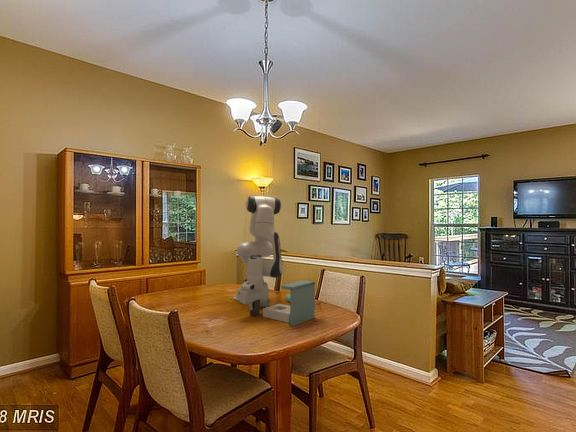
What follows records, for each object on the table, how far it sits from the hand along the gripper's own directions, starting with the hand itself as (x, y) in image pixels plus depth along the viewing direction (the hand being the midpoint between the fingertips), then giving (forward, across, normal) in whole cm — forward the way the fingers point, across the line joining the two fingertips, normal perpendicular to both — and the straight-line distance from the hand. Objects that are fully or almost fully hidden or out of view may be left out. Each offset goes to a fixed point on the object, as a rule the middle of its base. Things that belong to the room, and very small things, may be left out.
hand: (254, 308), depth 192 cm
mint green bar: (+4, -35, +4) cm, 35 cm away
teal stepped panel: (+4, -8, +24) cm, 26 cm away
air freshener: (+4, -17, -10) cm, 20 cm away
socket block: (+4, -8, +14) cm, 17 cm away
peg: (+4, 0, 0) cm, 4 cm away
